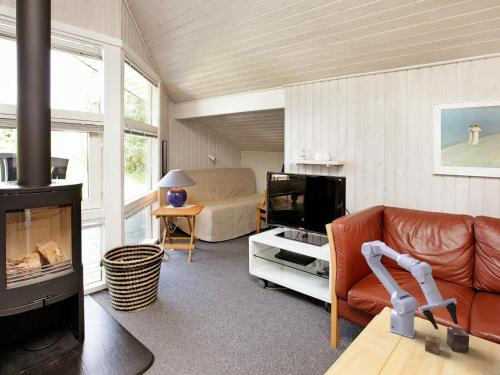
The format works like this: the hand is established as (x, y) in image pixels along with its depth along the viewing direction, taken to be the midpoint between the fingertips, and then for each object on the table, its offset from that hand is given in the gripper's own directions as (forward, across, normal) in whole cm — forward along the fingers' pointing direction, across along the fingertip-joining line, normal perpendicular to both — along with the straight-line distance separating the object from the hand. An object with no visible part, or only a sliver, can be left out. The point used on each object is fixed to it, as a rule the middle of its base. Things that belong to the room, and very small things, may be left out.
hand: (446, 326), depth 125 cm
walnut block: (+8, -8, +5) cm, 12 cm away
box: (+10, +3, +9) cm, 14 cm away
